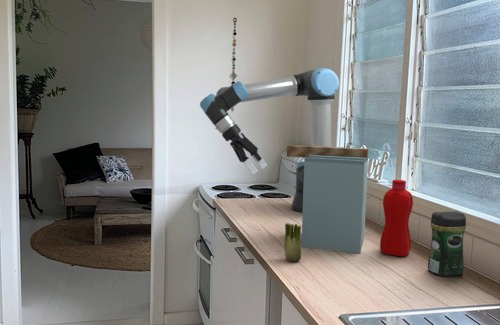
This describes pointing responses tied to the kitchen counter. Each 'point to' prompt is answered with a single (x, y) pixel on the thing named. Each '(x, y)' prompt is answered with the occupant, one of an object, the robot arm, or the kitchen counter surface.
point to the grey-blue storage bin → (334, 202)
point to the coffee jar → (447, 243)
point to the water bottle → (396, 220)
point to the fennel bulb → (292, 242)
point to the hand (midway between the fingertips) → (259, 170)
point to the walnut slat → (325, 151)
